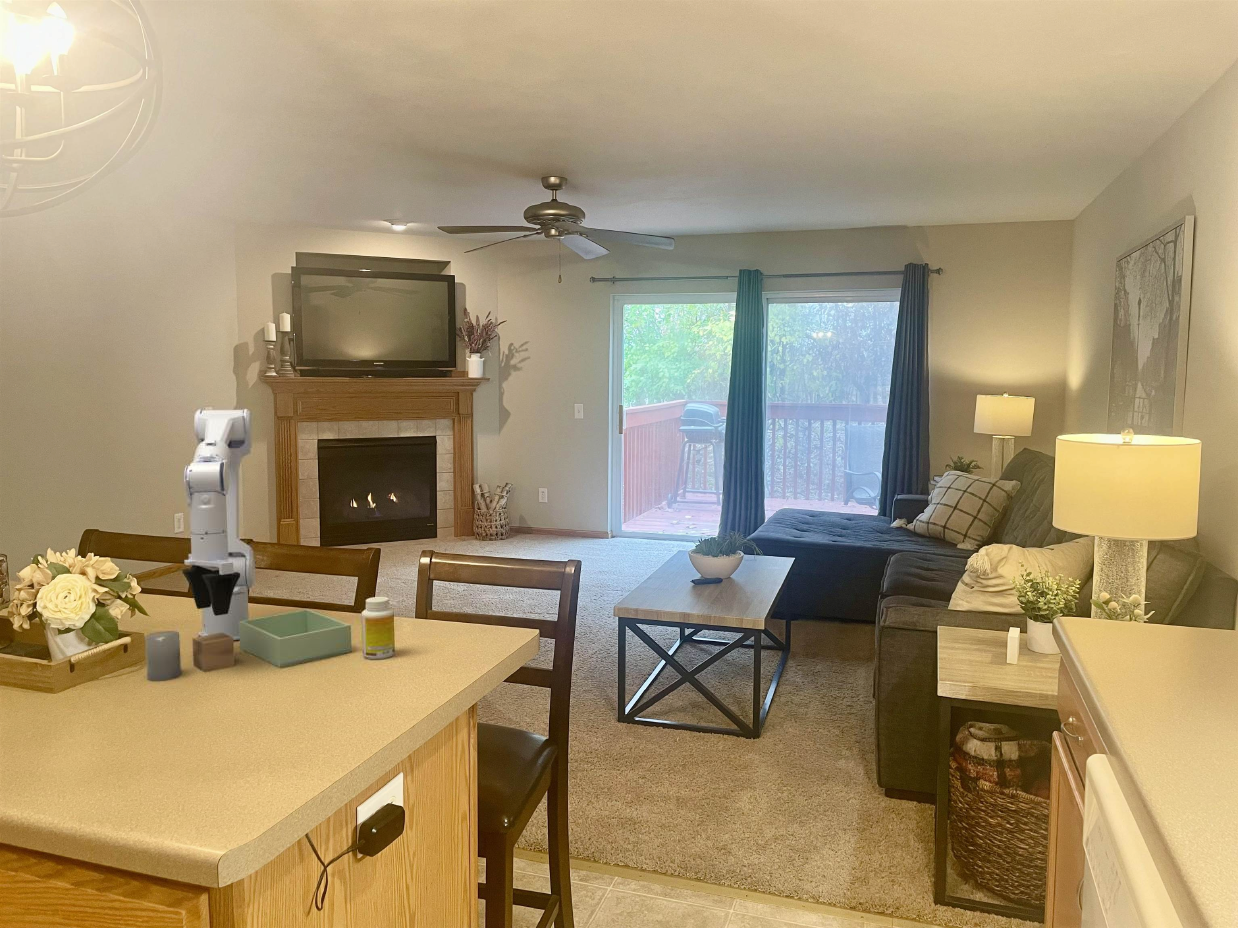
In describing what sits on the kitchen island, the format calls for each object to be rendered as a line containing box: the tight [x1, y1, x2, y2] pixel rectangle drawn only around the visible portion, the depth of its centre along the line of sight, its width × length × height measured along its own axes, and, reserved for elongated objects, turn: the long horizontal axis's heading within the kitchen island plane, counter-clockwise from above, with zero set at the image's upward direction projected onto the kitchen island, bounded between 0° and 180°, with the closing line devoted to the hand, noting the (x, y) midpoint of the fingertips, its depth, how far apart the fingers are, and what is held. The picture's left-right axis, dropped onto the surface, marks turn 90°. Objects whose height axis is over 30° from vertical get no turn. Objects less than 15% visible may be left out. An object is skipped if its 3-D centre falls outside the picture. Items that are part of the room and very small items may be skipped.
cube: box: [192, 633, 235, 673], centre depth 153 cm, size 5×5×5 cm
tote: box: [239, 608, 353, 669], centre depth 162 cm, size 17×13×5 cm
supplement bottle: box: [360, 596, 396, 660], centre depth 158 cm, size 6×6×10 cm
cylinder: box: [144, 630, 182, 682], centre depth 148 cm, size 5×5×7 cm
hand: (212, 611), depth 153 cm, fingers open, 7 cm apart
